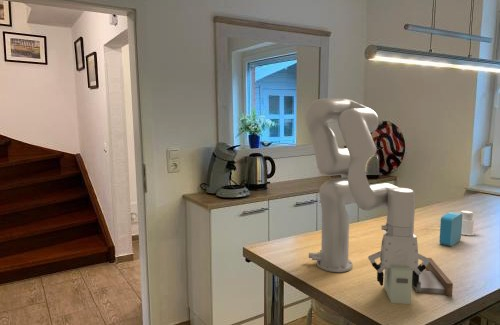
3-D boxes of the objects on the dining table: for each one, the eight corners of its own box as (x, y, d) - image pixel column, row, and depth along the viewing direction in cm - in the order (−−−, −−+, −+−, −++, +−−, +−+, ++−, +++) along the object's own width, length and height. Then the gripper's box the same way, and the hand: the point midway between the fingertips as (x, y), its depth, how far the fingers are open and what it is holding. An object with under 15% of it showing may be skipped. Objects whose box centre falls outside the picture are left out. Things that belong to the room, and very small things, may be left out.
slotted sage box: (391, 303, 110) (392, 270, 109) (384, 287, 121) (385, 256, 119) (411, 304, 110) (413, 271, 108) (402, 287, 120) (403, 257, 118)
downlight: (472, 237, 166) (474, 214, 165) (454, 234, 170) (456, 212, 169) (475, 233, 172) (477, 211, 171) (457, 230, 176) (459, 209, 175)
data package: (449, 237, 165) (451, 210, 164) (461, 240, 162) (462, 212, 161) (439, 244, 157) (440, 216, 156) (450, 247, 154) (452, 218, 152)
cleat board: (417, 294, 115) (418, 281, 115) (401, 267, 135) (401, 256, 134) (452, 296, 114) (452, 283, 114) (430, 268, 134) (430, 257, 133)
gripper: (371, 232, 110) (369, 288, 112) (435, 234, 108) (431, 291, 110) (367, 225, 117) (365, 277, 120) (426, 226, 115) (423, 280, 117)
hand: (397, 284), depth 115 cm, fingers open, 9 cm apart
